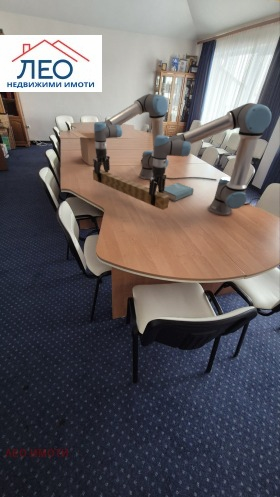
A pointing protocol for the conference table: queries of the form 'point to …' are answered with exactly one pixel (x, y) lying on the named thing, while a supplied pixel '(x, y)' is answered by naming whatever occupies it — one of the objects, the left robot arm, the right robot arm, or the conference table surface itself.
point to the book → (177, 191)
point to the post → (132, 189)
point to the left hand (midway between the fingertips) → (102, 181)
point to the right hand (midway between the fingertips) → (155, 203)
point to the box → (87, 146)
